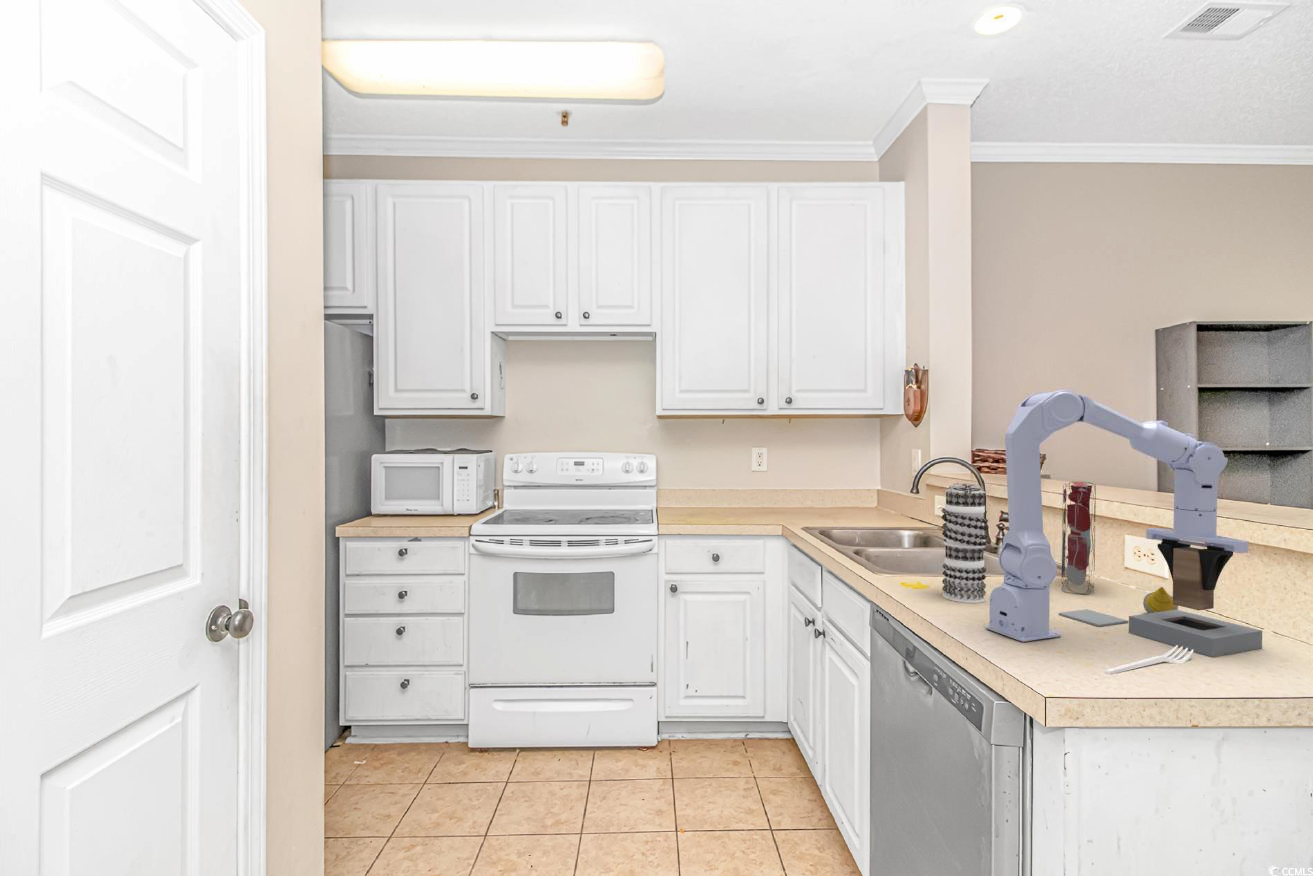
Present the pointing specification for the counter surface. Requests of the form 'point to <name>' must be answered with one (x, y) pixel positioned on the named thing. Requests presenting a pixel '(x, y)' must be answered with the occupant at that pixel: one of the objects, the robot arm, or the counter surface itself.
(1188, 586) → the wooden rectangular post
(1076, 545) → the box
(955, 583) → the decorative candle
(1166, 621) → the gray square frame
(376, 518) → the counter surface
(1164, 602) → the drill bit
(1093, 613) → the flat gray square panel
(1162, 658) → the fork
